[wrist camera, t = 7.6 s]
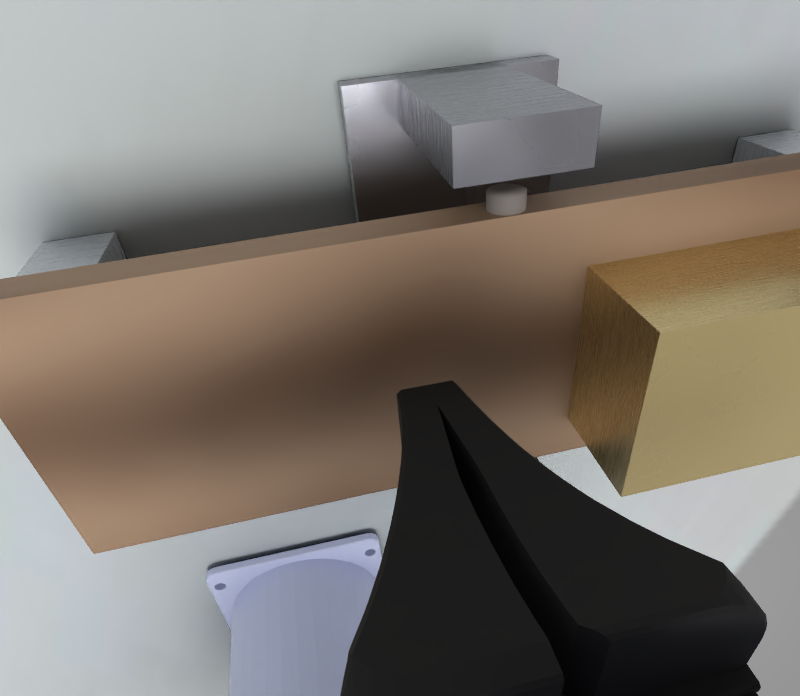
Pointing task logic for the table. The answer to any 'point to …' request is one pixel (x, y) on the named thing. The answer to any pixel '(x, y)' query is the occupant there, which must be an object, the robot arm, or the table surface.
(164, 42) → the table surface
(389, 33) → the table surface
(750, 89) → the table surface
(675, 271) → the block
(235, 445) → the beam
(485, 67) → the stand
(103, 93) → the table surface
